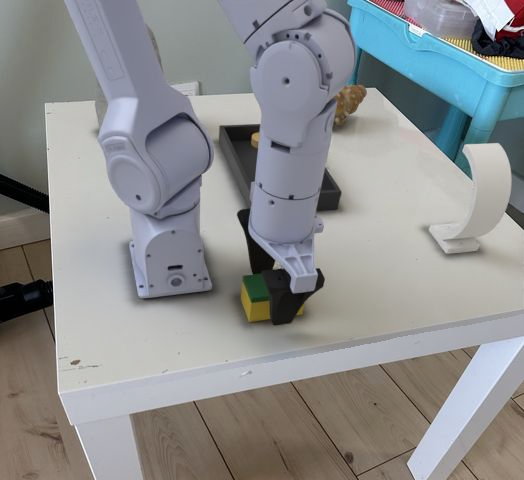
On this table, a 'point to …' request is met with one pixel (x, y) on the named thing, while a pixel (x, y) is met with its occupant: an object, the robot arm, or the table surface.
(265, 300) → the sponge
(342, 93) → the seashell
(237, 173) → the tray
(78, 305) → the table surface
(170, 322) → the table surface
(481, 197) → the headphone stand
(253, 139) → the tan flat disc
